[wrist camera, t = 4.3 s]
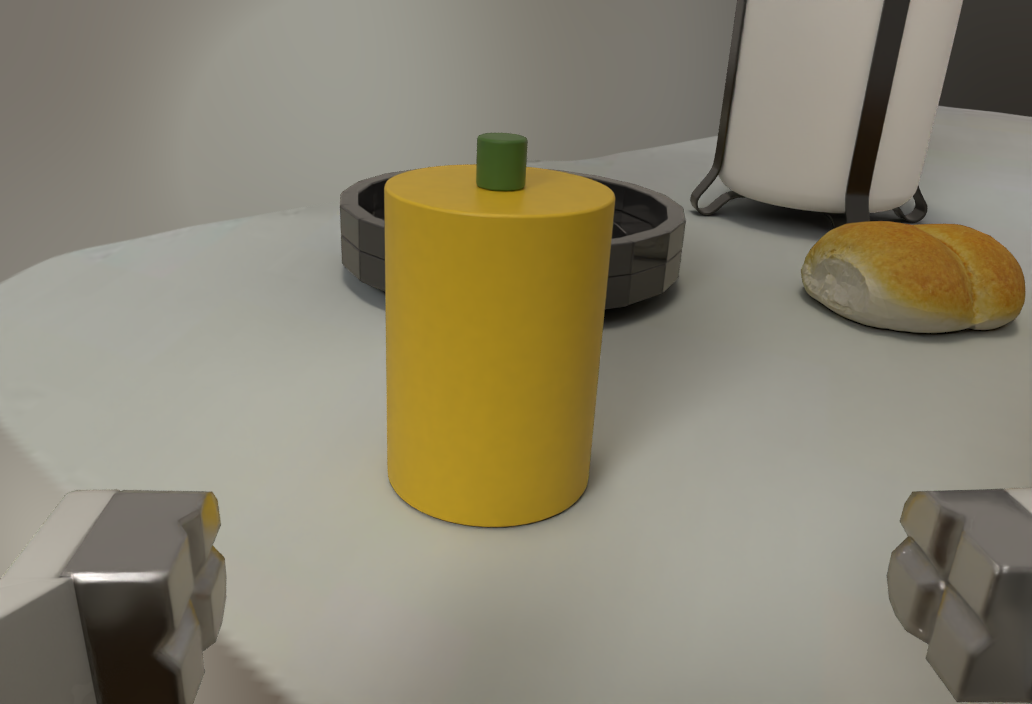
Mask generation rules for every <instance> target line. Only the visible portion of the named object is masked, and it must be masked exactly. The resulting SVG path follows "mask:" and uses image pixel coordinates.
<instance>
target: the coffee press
mask: <svg viewBox="0 0 1032 704" xmlns="http://www.w3.org/2000/svg"><path fill="white" fill-rule="evenodd" d="M962 1H963V0H737V5H736V12H735V20H734V27H733V34H732V41H731V48H730V55H729V62H728V69H727V76H726V83H725V90H724V98H723V104H722V112H721V119H720V126H719V133H718V140H717V146H716V153H715V158H714V163H713V166H712V168H711V170H710V171H709V173H708V174H707V176H706V177H705V178H704V179H703V181H702V182H701V183H700V184H699V185H698V186H697V187H696V189H695V190H694V191H693V192H692V194H691V198H690V201H691V204H692V206H693V207H694V208H695V209H696V210H697V211H698V212H699V213H700V214H702V215H711V214H713V213H715V212H716V211H717V210H719V209H720V208H721V207H722V206H723V205H724V204H726V203H727V202H728V201H730V200H732V199H734V198H750V199H753V200H756V201H760V202H764V203H768V204H772V205H777V206H782V207H787V208H793V209H800V210H808V211H817V212H822V213H823V214H825V215H826V216H828V217H829V218H830V219H831V221H832V224H833V228H834V229H835V228H837V227H840V226H842V225H844V224H848V223H858V222H868V221H870V216H869V213H875V212H882V211H887V210H891V209H892V210H893V212H894V213H895V214H896V215H897V216H898V217H900V218H902V219H904V220H906V221H908V222H910V223H915V222H918V221H920V220H922V219H923V218H924V217H925V215H926V213H927V204H926V202H925V200H924V198H923V196H922V194H921V191H920V189H919V186H918V184H919V181H920V177H921V173H922V169H923V165H924V161H925V157H926V153H927V149H928V145H929V140H930V136H931V132H932V128H933V124H934V120H935V116H936V111H937V107H938V103H939V99H940V94H941V90H942V86H943V81H944V78H945V73H946V69H947V65H948V61H949V57H950V53H951V48H952V44H953V40H954V36H955V32H956V27H957V23H958V19H959V15H960V10H961V6H962ZM718 175H719V177H720V179H721V181H722V182H723V183H724V184H725V185H726V186H727V187H728V188H729V189H731V190H732V191H729V192H726V193H724V194H722V195H721V196H720V197H718V198H717V199H716V200H715V201H714V202H712V203H711V204H710V205H709V206H707V207H705V208H698V200H699V198H700V197H701V195H702V194H703V193H704V192H705V191H706V190H707V189H708V187H709V186H710V185H711V184H712V183H713V181H714V180H715V179H716V177H717V176H718ZM912 196H913V198H914V200H915V208H914V210H913V211H912V212H911V213H910V214H908V215H904V214H903V212H902V211H901V209H900V208H899V206H901V205H903V204H904V203H906V202H907V201H908V200H910V199H911V198H912Z"/></svg>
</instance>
